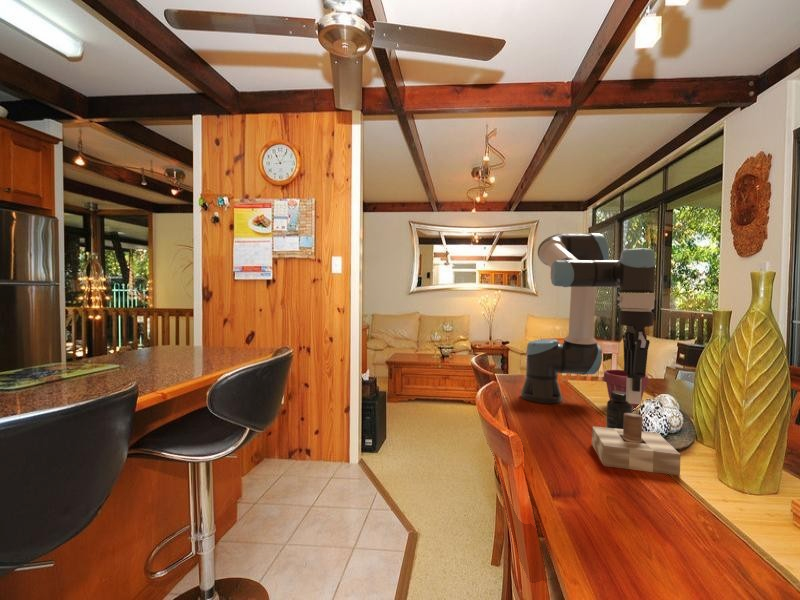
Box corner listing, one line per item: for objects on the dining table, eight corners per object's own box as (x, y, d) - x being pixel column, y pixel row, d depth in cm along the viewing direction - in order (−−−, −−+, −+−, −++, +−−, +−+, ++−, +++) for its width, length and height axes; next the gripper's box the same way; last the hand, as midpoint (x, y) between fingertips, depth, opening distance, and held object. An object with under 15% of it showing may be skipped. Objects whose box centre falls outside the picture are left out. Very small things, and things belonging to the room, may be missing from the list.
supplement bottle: (635, 436, 112) (637, 396, 112) (610, 434, 113) (611, 394, 113) (626, 428, 119) (628, 390, 118) (603, 426, 120) (604, 389, 120)
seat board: (591, 443, 106) (592, 426, 106) (657, 451, 102) (657, 432, 102) (603, 465, 93) (604, 445, 93) (679, 475, 88) (680, 454, 88)
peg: (620, 453, 100) (621, 412, 100) (638, 455, 99) (639, 413, 99) (624, 460, 96) (626, 417, 96) (643, 462, 95) (645, 419, 95)
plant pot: (602, 399, 151) (603, 367, 151) (644, 404, 145) (645, 371, 144) (603, 409, 138) (604, 374, 138) (649, 415, 132) (650, 378, 132)
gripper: (612, 308, 104) (610, 394, 105) (627, 311, 91) (624, 409, 91) (643, 309, 102) (640, 396, 103) (663, 311, 89) (660, 412, 89)
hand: (633, 402), depth 97 cm, fingers closed
